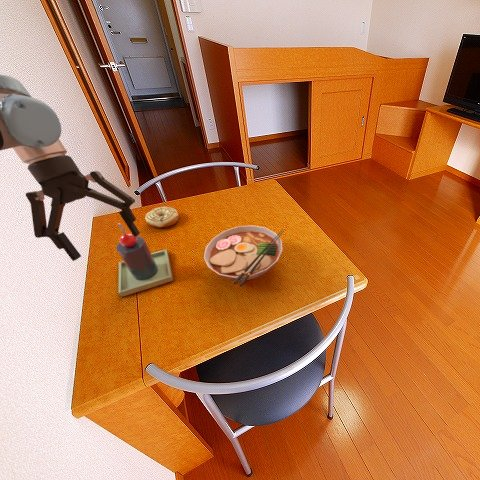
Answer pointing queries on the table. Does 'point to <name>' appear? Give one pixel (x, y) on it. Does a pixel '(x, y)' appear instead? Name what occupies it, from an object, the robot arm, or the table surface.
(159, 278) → the serving tray
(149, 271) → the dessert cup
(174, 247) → the table surface
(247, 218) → the table surface
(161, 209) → the decorated donut
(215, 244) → the ramen bowl
